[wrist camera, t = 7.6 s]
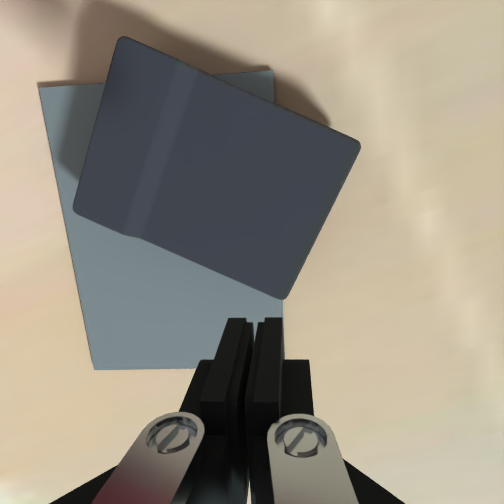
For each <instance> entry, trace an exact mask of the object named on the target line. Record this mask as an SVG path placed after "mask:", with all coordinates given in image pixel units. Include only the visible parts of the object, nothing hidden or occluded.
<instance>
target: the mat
mask: <svg viewBox="0 0 504 504" xmlns="http://www.w3.org/2000/svg"><path fill="white" fill-rule="evenodd" d="M212 76H215V77H217V78H219V79H221V80H224V81H226V82H228V83H230V84H233V85H235V86H237V87H239V88H242V89H244V90H246V91H248V92H251V93H253V94H255V95H257V96H260V97H262V98H264V99H266V100H269V101H271V102H273V103H275V98H274V73H273V70H270V71H256V72H243V73H230V74H216V75H212ZM105 84H106V83H97V84H83V85H70V86H57V87H43V88H39V92H40V97H41V102H42V107H43V112H44V117H45V122H46V128H47V133H48V138H49V143H50V148H51V153H52V158H53V163H54V168H55V173H56V178H57V184H58V189H59V194H60V199H61V204H62V209H63V214H64V219H65V224H66V229H67V234H68V240H69V245H70V250H71V255H72V260H73V265H74V270H75V275H76V280H77V285H78V290H79V296H80V301H81V306H82V311H83V316H84V321H85V326H86V331H87V336H88V341H89V346H90V352H91V357H92V362H93V367H94V370H129V369H192V368H197V366H198V363H199V362H200V360H202V359H214V357H215V354H216V352H217V349H218V346H219V343H220V340H221V337H222V334H223V331H224V328H225V326H226V323H227V320H228V318H246V319H247V322H253V326H254V341H255V336H256V331H257V325H258V322H264V320H265V317H283V301H282V300H279V299H276V298H274V297H272V296H269V295H267V294H265V293H263V292H260V291H258V290H256V289H254V288H251V287H249V286H247V285H244V284H242V283H240V282H238V281H235V280H233V279H231V278H229V277H226V276H224V275H222V274H220V273H217V272H215V271H213V270H210V269H208V268H206V267H204V266H201V265H199V264H197V263H195V262H192V261H190V260H188V259H185V258H183V257H181V256H179V255H176V254H174V253H172V252H170V251H167V250H165V249H163V248H161V247H158V246H156V245H154V244H151V243H149V242H147V241H145V240H142V239H139V238H135V237H130V236H126V235H122V234H120V233H118V232H115V231H113V230H111V229H109V228H106V227H104V226H102V225H100V224H97V223H95V222H93V221H91V220H88V219H86V218H84V217H81V216H79V215H77V214H76V213H75V212H74V211H73V202H74V198H75V194H76V191H77V187H78V183H79V180H80V176H81V172H82V169H83V165H84V161H85V157H86V154H87V150H88V146H89V143H90V139H91V135H92V132H93V128H94V124H95V121H96V117H97V113H98V110H99V106H100V102H101V98H102V95H103V91H104V87H105ZM283 337H284V327H283ZM284 360H285V352H284Z"/></svg>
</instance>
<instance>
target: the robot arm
mask: <svg viewBox="0 0 504 504" xmlns="http://www.w3.org/2000/svg"><path fill="white" fill-rule="evenodd" d="M249 479H250V491H251V504H405V503H404V502H402V501H401V500H399V499H398V498H397V497H395V496H394V495H393V494H391V493H390V492H388V491H387V490H386V489H384V488H383V487H381V486H380V485H379V484H377V483H376V482H374V481H373V480H372V479H370V478H369V477H368V476H366V475H365V474H363V473H362V472H361V471H359V470H358V469H356V468H355V467H354V466H352V465H351V464H350V463H348V462H347V461H345V460H344V459H343V458H342V455H341V452H340V450H339V447H338V444H337V441H336V438H335V436H334V433H333V431H332V430H331V428H330V426H329V425H327V424H326V423H325V422H324V421H323V420H321V419H319V418H317V417H315V416H314V410H313V399H312V387H311V376H310V364H309V360H284V337H283V317H265V320H264V322H258V325H257V331H256V336H255V341H254V326H253V322H247V319H246V318H228V320H227V323H226V326H225V328H224V331H223V334H222V337H221V340H220V343H219V346H218V349H217V352H216V354H215V357H214V359H202V360H200V362H199V363H198V366H197V368H196V371H195V373H194V376H193V378H192V381H191V383H190V385H189V388H188V390H187V393H186V395H185V398H184V400H183V403H182V405H181V408H180V410H179V412H173V413H168V414H165V415H162V416H160V417H158V418H156V419H155V420H153V421H152V422H150V423H149V424H148V425H147V426H146V427H145V428H144V429H143V430H142V432H141V433H140V435H139V436H138V438H137V439H136V440H135V442H134V443H133V445H132V446H131V447H130V449H129V450H128V452H127V453H126V454H125V456H124V457H123V459H122V460H121V462H120V463H119V464H118V465H117V466H115V467H113V468H111V469H110V470H108V471H106V472H104V473H103V474H101V475H99V476H97V477H96V478H94V479H92V480H90V481H89V482H87V483H85V484H83V485H81V486H80V487H78V488H76V489H74V490H73V491H71V492H69V493H67V494H66V495H64V496H62V497H60V498H59V499H57V500H55V501H53V502H51V503H50V504H247V496H248V488H249Z"/></svg>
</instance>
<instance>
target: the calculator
mask: <svg viewBox="0 0 504 504" xmlns="http://www.w3.org/2000/svg"><path fill="white" fill-rule="evenodd" d="M360 149H361V145H360V143H359V141H358V140H356V139H354V138H352V137H349V136H347V135H345V134H343V133H340V132H338V131H336V130H334V129H331V128H329V127H327V126H325V125H322V124H320V123H318V122H316V121H313V120H311V119H309V118H307V117H304V116H302V115H300V114H298V113H296V112H293V111H291V110H289V109H287V108H284V107H282V106H280V105H278V104H275V103H273V102H271V101H269V100H266V99H264V98H262V97H260V96H257V95H255V94H253V93H251V92H248V91H246V90H244V89H242V88H239V87H237V86H235V85H233V84H230V83H228V82H226V81H224V80H221V79H219V78H217V77H215V76H212V75H210V74H208V73H206V72H203V71H201V70H199V69H197V68H195V67H193V66H191V65H189V64H187V63H184V62H182V61H180V60H178V59H176V58H174V57H171V56H169V55H167V54H165V53H162V52H160V51H158V50H156V49H153V48H151V47H149V46H147V45H144V44H142V43H140V42H138V41H136V40H133V39H131V38H129V37H125V36H122V37H120V38H119V39H118V41H117V44H116V47H115V51H114V54H113V58H112V62H111V65H110V69H109V73H108V76H107V80H106V84H105V87H104V91H103V95H102V98H101V102H100V106H99V110H98V113H97V117H96V121H95V124H94V128H93V132H92V135H91V139H90V143H89V146H88V150H87V154H86V157H85V161H84V165H83V169H82V172H81V176H80V180H79V183H78V187H77V191H76V194H75V198H74V202H73V211H74V212H75V213H76V214H77V215H79V216H81V217H84V218H86V219H88V220H91V221H93V222H95V223H97V224H100V225H102V226H104V227H106V228H109V229H111V230H113V231H115V232H118V233H120V234H122V235H126V236H130V237H135V238H139V239H142V240H145V241H147V242H149V243H151V244H154V245H156V246H158V247H161V248H163V249H165V250H167V251H170V252H172V253H174V254H176V255H179V256H181V257H183V258H185V259H188V260H190V261H192V262H195V263H197V264H199V265H201V266H204V267H206V268H208V269H210V270H213V271H215V272H217V273H220V274H222V275H224V276H226V277H229V278H231V279H233V280H235V281H238V282H240V283H242V284H244V285H247V286H249V287H251V288H254V289H256V290H258V291H260V292H263V293H265V294H267V295H269V296H272V297H274V298H276V299H279V300H284V299H286V298H287V296H288V295H289V293H290V291H291V289H292V287H293V285H294V283H295V281H296V279H297V277H298V275H299V273H300V271H301V269H302V267H303V265H304V263H305V261H306V259H307V257H308V255H309V253H310V251H311V248H312V246H313V244H314V242H315V240H316V238H317V236H318V234H319V232H320V230H321V228H322V226H323V224H324V222H325V220H326V218H327V216H328V214H329V212H330V210H331V208H332V206H333V204H334V202H335V200H336V198H337V196H338V194H339V192H340V190H341V188H342V186H343V184H344V182H345V180H346V178H347V176H348V174H349V172H350V170H351V168H352V166H353V164H354V162H355V160H356V158H357V156H358V154H359V152H360Z"/></svg>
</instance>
